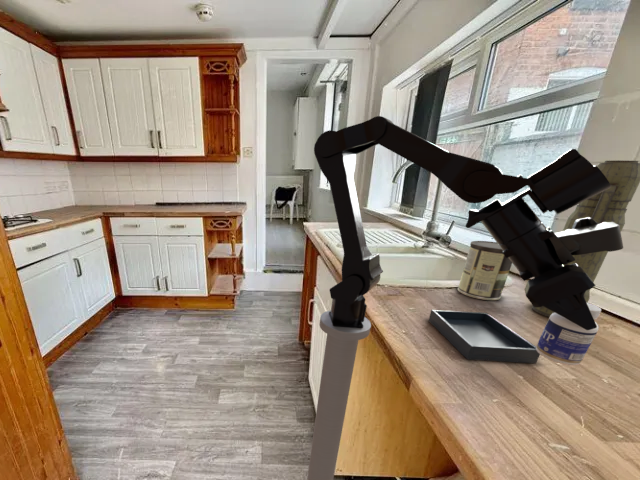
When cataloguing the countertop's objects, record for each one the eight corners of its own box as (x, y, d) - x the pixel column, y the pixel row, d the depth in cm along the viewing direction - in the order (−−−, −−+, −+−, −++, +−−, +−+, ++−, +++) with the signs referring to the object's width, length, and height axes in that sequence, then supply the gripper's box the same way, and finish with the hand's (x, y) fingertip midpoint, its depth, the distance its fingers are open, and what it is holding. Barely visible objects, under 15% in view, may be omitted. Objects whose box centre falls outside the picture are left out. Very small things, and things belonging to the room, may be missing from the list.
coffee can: (487, 288, 91) (503, 241, 86) (508, 302, 81) (527, 251, 76) (450, 285, 92) (464, 239, 87) (466, 298, 83) (483, 248, 78)
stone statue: (576, 310, 78) (646, 162, 65) (581, 327, 69) (663, 160, 56) (531, 300, 83) (587, 161, 70) (531, 314, 75) (595, 159, 62)
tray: (466, 359, 56) (471, 346, 55) (428, 320, 70) (431, 309, 69) (536, 363, 55) (542, 350, 54) (483, 323, 69) (487, 312, 68)
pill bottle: (531, 343, 51) (553, 294, 47) (573, 353, 48) (599, 302, 45) (539, 358, 47) (563, 306, 43) (585, 371, 44) (615, 316, 41)
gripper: (606, 203, 34) (706, 323, 32) (576, 195, 48) (645, 278, 46) (495, 257, 41) (571, 357, 39) (497, 236, 55) (554, 309, 53)
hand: (588, 321), depth 44 cm, fingers closed on pill bottle, 5 cm apart
